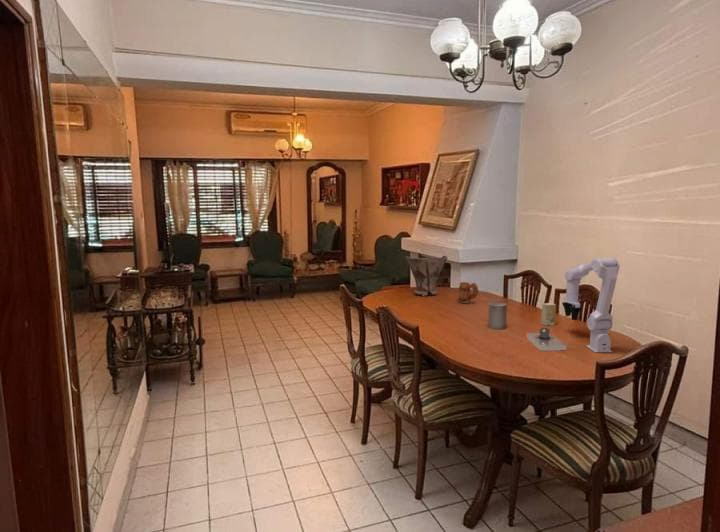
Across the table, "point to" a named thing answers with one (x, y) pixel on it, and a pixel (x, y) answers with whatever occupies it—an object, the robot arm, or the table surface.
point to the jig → (546, 342)
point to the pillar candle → (497, 315)
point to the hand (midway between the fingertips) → (571, 317)
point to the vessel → (426, 273)
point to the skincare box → (548, 314)
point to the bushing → (544, 333)
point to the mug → (467, 292)
